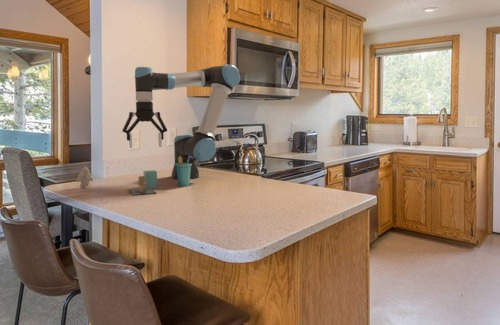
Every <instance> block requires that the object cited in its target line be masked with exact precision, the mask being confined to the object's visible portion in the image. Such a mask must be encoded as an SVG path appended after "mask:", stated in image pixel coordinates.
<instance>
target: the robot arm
mask: <svg viewBox="0 0 500 325" xmlns="http://www.w3.org/2000/svg"><path fill="white" fill-rule="evenodd" d="M240 81H241V74H240V71H239V69H238V67H236V66H235V65H233V64H223V65H215V66H211V67H206V68H202V69H197V70H196V71H189V72H175V73H174V72H173V73H172V72H171V73H169V72H167V73H163V72H153V69H152V68H151V67H149V66H137V67H136V68H134V82H135V83H134V84H135V85H134V86H135V88H134V89H135V101H136V102H135V111H134V112H132V111H129V112H128V117H127V120H126V122H125V124H124V126H123V128H122V130H121V131H122V133H126V140H127V141H128V142H129V143H128V144H129V146H128V148H130V149H133V136H132V135H133V134H132V133H131V132H132V131H133V130H134V128H135V127H136V126H137V125H138V124H139V123H140V122H150V123H152V125H153V127H155V128H156V129H157V130H158V147H159V148H162V146H163V144H162V141H163V140H164V139H165V138H164V133H166V132H168V128H167V126H166V125H165V123H164V121H163V119H162V117H161V112H160V111H156V112H154V103H153V100H154V98H153V96H154V95H153V91H158V90H161V91H162V90H167V91H168V90H173V89H176V88H177V89H178V88H186V87H187V88H188V87H198V88H211V89H212V90H211V92H210V96H209V99H208V102H207V104H206V107H205V110H204V113H203V115H202V118H201V120H200V121H201V122H200V124H199V127H198V129H197V130H195V131H194V132H193V134H184V135H183V134H182V135H176V136H175V137H174V140H173V146H174V149H173V150H174V152H173V153H174V164H173V168H172V170H171V178H172V179H177V180H178V176H177V167H176V164H177V163H178V157H179V156H181V157H182V161H183V163H187V159H188V157H189V156H192V157H194V159H192V158H189V163H191V164H192V166H191V172H190V180H191V179H197V178H200V172H199V168H198V165H197V161H200V162H203V161H204V162H205V161H208V160H211V159H213V157H214V156H215V154H216V152H217V146H216V145H217V144H216V137H215V133H216V130H217V126H218V124H219V121H220V117H221V115H222V112H223V111H224V110H223V109H224V108H225V107H224V106H225V104H226V101H227V97H228V95H230V94H231V93H233V90H234V88H235V87H237V86H238V85H239V83H240ZM135 116H136V119H135V120H134V122H133V123H132V124H131V125H130V123H131V121H132V119H133V118H134V117H135ZM153 117H156V118H157V121H158V123H159V124H158V123H157V122H156V121H155V119H154V118H153ZM129 125H130V127H129Z"/></svg>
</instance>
